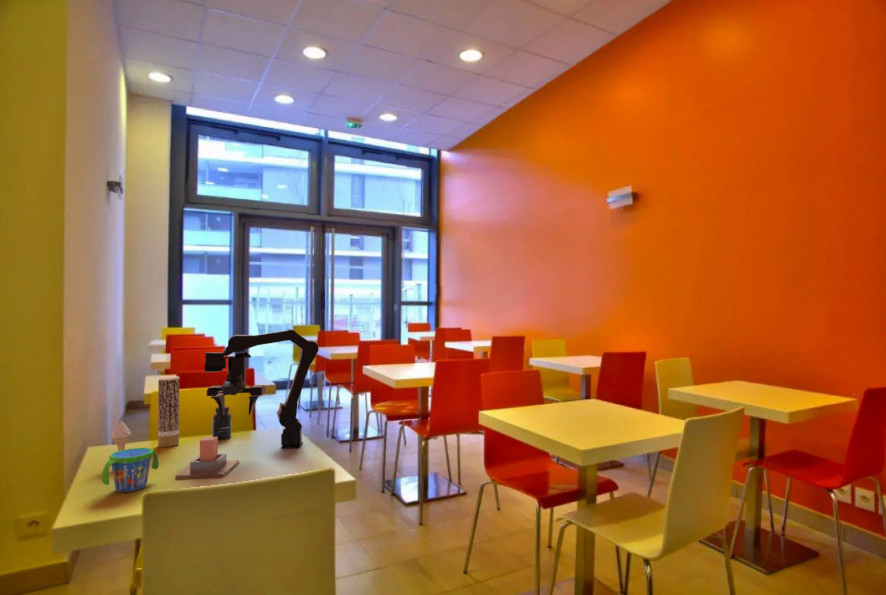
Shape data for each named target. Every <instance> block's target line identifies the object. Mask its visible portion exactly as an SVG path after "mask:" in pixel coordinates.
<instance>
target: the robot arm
mask: <svg viewBox="0 0 886 595" xmlns="http://www.w3.org/2000/svg"><path fill="white" fill-rule="evenodd" d="M288 341H290V342H291V343H292V344H294V345H296V346H297V347H298V348H299V354H298V355H299V356H298V365H297V368H296V371H295V373H294V375H293V376H294V377H293V379H292V383H291V386H290V389H289V391H288V395H287V398H286V400H285V401H284V403H282V402H279V408H278V409H277V412H276V415H277V419H278V422H279V424H280V425H281V426H282V427H283V429H282V433H281V434H280V438H281V439H280V445H281V449H299V448H301V447H302V445H303V444H304V442H303V439H302V438H303V430H302V427H303V425H302V423H301V421H300V420H299V419H298V418H297V412H298V404H299V403H298V402H299V400H300V397H301V393H302V390H303V387H304V383H305V381H306V377H307V375H308V372H309V368H310V366H311V365H312V363H313V362H314V360H315V358H316V356H317V354H318V353H319V345H318V343H316V342H315V341H313V340H311V339H308V340H307V339H306V338H305V337H303V336H302V335H300V334H298V333H297V332H296V331H295V329H291V328H289V329H286V330H279V331H274V332H267V333H261V334H254V335H252V334H234V335H231V336H230V337H229V339H228V340H227V346H226V347H225V349H224V348H223V351H221V352H220V351H219V352H210V351H209V352H208V351H206V352H205V361H204V372H205V373H218V372H223V370H225V369H227V374H226V380H225V381H224V382H223V384H222V385H212V386H210V387H208V388H207V389H206V397H210V399H213V400H214V401H215V402H216V404H217V407H219V409H220V411H221V414H222V416H223V415H224V412H225V406H226V405H225V402H226V401H225V399H226V398H225V397H226V396H228V395H229V396H237V395H238V394H250V395H249V396H248V399H249V402H248V403H249V404H248V416H251V415H252V413H253V410H254V407H255V405H256V402H257V400H258V399H259V397H261V396H262V395H264V394H266V393H267V392H266V388H267V387H266V385H264V384H254V385H252V386H250V387H247V383H246V376H247V372H246V358H247V359H251V358H252V355H251V354H250V353H249V352H248V351H247V350H248V349H251V348H253V347H256V346H261V345H270V344H274V343H280V342H288ZM243 351H244V352H243ZM232 354H234V355H232Z"/></svg>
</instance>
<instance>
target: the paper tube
mask: <svg viewBox="0 0 886 595" xmlns="http://www.w3.org/2000/svg"><path fill="white" fill-rule="evenodd" d="M157 381H158V394H157V396H158V398H157V399H158V400H157V404H158V409H157V410H158V412H157V415H158V418H157V419H158V420H157V425H158V426H157V427H158V430H157V433H158V434H157V437H158V438H157V439H158V440H157V441H158V442H157V445H158V447H160V448H170V447H175V446H177V445H179V443H180V376H179V375H178V376H175V375H171V376H162V377H158V380H157Z"/></svg>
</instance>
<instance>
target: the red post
mask: <svg viewBox="0 0 886 595" xmlns="http://www.w3.org/2000/svg"><path fill="white" fill-rule="evenodd" d="M218 442H219V440H218V437H212V436H205V437H202V438H201V439H200V440H199V455H200V461H215V460H216V459H218V454H219V453H218V452H219V443H218Z"/></svg>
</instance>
